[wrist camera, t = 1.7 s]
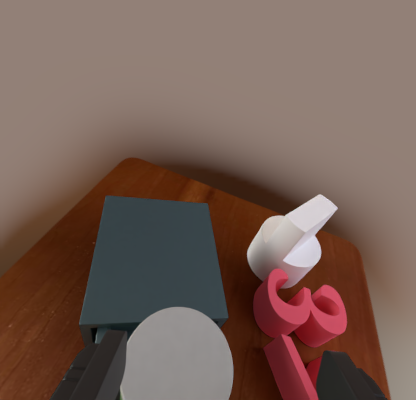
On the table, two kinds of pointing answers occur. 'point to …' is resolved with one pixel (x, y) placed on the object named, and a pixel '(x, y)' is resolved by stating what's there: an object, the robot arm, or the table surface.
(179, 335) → the chip tube
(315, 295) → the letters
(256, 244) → the cylinder with rectangular tab
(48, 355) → the table surface
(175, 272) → the cabinet
